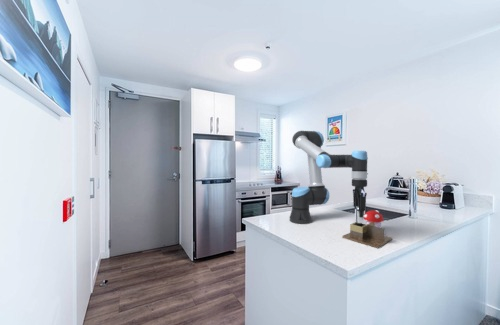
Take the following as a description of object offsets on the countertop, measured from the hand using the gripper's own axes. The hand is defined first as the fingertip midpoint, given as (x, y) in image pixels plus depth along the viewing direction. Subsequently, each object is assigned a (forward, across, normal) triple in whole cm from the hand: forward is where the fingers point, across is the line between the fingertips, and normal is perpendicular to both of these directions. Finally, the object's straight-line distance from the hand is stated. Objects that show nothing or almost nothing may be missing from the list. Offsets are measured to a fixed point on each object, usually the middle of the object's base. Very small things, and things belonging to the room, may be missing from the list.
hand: (359, 221), depth 117 cm
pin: (+5, 0, 0) cm, 5 cm away
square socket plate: (+9, 0, -4) cm, 10 cm away
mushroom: (+9, +15, -14) cm, 22 cm away
